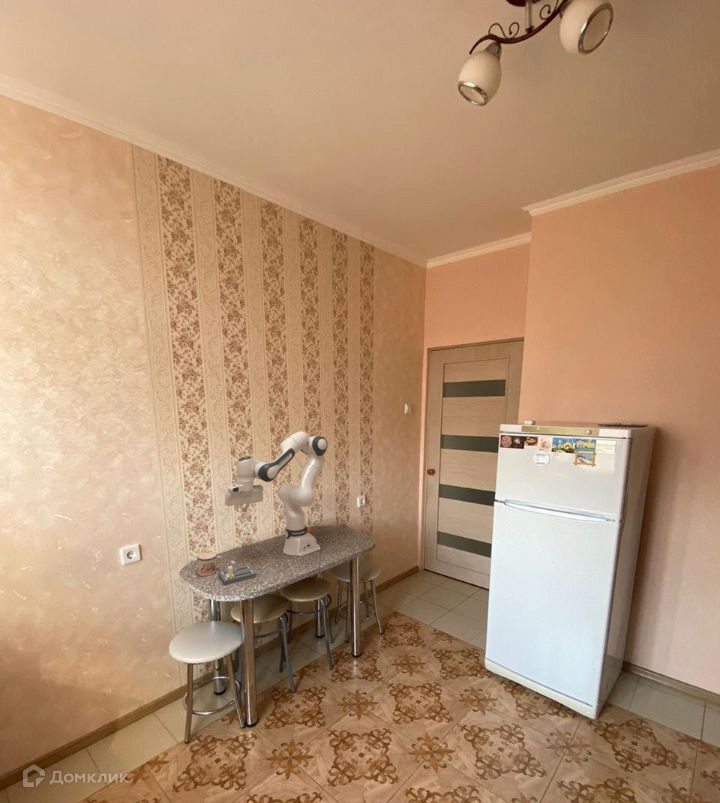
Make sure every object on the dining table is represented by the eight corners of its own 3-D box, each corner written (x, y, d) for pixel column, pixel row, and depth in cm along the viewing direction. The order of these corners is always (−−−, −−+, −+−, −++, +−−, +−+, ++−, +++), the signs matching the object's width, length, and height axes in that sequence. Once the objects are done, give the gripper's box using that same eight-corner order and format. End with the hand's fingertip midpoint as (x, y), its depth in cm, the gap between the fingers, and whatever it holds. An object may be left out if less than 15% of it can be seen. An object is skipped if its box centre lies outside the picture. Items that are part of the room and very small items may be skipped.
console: (249, 568, 195) (249, 556, 195) (256, 576, 186) (256, 563, 186) (218, 576, 186) (218, 563, 186) (224, 585, 177) (224, 571, 177)
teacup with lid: (199, 578, 183) (200, 555, 183) (195, 571, 190) (196, 549, 190) (224, 572, 190) (224, 550, 190) (219, 565, 197) (220, 544, 197)
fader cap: (232, 574, 183) (232, 565, 183) (234, 577, 180) (234, 567, 180) (225, 576, 181) (225, 566, 181) (227, 578, 178) (227, 569, 178)
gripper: (261, 483, 208) (260, 507, 208) (224, 487, 196) (223, 512, 196) (265, 485, 203) (264, 510, 203) (227, 489, 191) (226, 516, 191)
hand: (244, 511), depth 199 cm, fingers closed
